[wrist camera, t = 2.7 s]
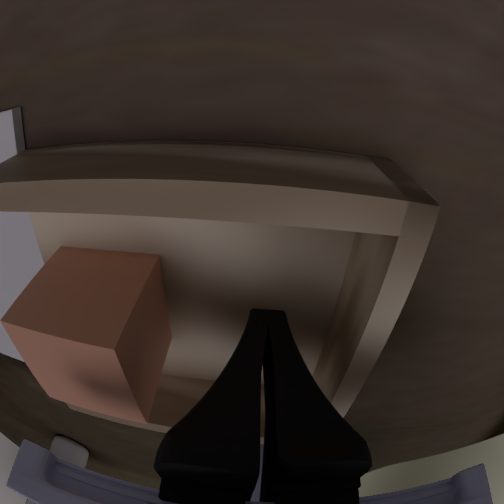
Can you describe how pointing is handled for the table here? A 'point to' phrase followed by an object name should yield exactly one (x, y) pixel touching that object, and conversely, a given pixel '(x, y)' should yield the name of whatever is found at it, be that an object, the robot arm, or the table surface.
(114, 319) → the block
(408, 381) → the table surface
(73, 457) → the drinking glass
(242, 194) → the open box
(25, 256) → the mat
